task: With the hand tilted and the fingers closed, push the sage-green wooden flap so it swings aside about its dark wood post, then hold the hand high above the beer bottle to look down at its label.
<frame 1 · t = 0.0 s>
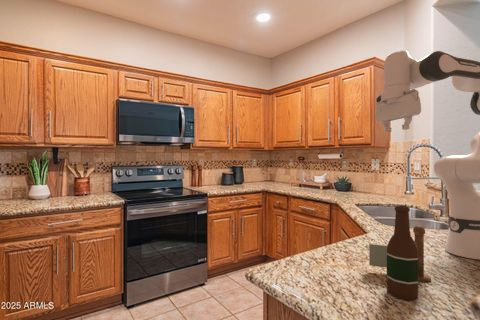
hand: (396, 130, 103), 48 cm above the countertop, tool pointing down, fingers open, 8 cm apart
flap: (390, 256, 87), point 5 cm above the countertop, hinge at 0.0°
beer bottle: (402, 295, 74), on the countertop
post: (419, 277, 84), on the countertop
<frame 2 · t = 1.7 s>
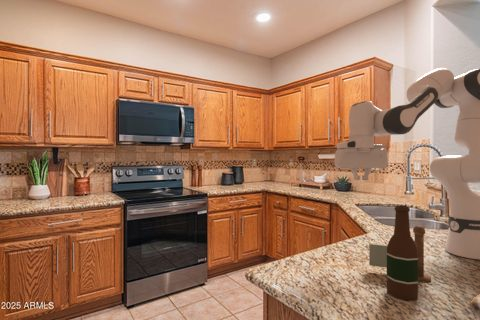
hand: (361, 180, 104), 29 cm above the countertop, tool pointing down, fingers closed
nothing on the countertop moved.
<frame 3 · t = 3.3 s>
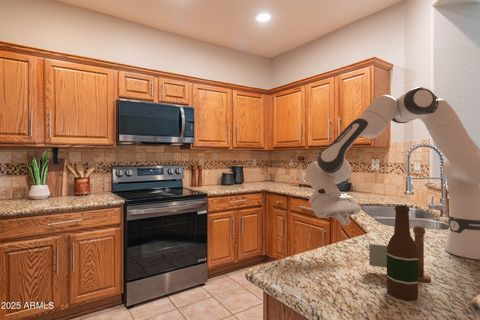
hand: (346, 224, 101), 13 cm above the countertop, tool tilted 45°, fingers closed
nothing on the countertop moved.
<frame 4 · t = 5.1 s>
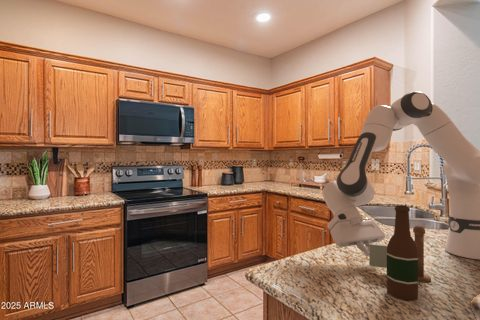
hand: (370, 254, 91), 5 cm above the countertop, tool tilted 45°, fingers closed
flap: (390, 256, 87), point 6 cm above the countertop, hinge at 1.5°, touching gripper
everything else where it was.
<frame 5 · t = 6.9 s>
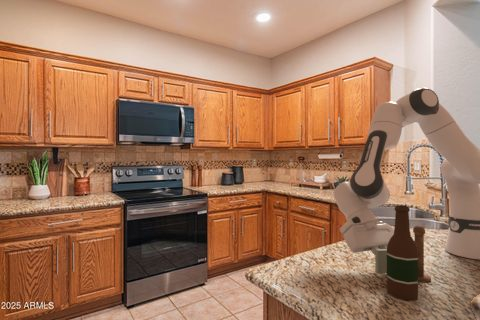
hand: (387, 261, 85), 5 cm above the countertop, tool tilted 45°, fingers closed
flap: (394, 260, 84), point 6 cm above the countertop, hinge at 27.6°, touching gripper
everything else where it was.
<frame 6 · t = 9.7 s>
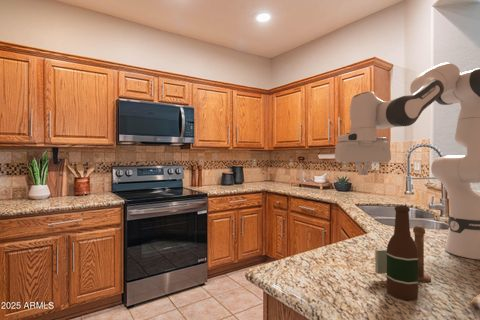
hand: (362, 174, 99), 31 cm above the countertop, tool pointing down, fingers closed
flap: (394, 260, 84), point 6 cm above the countertop, hinge at 27.6°
everything else where it was.
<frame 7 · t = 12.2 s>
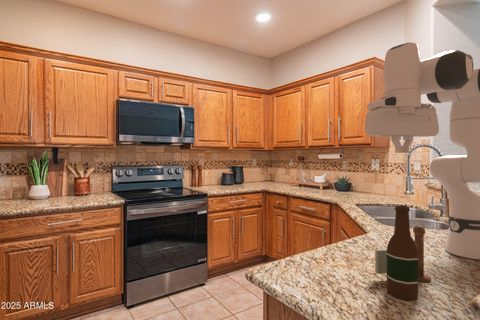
hand: (402, 152, 75), 39 cm above the countertop, tool pointing down, fingers closed
nothing on the countertop moved.
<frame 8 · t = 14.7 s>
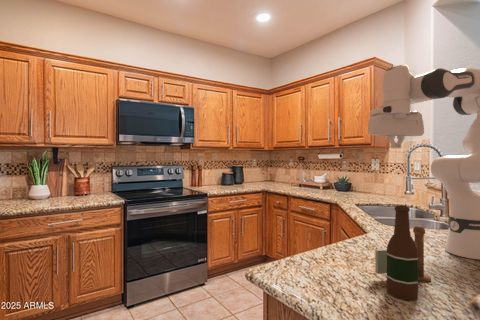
hand: (396, 148, 99), 41 cm above the countertop, tool pointing down, fingers closed
nothing on the countertop moved.
at the end: flap at +28° (first picture: +0°); beer bottle moved 0.2 cm from its start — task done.
